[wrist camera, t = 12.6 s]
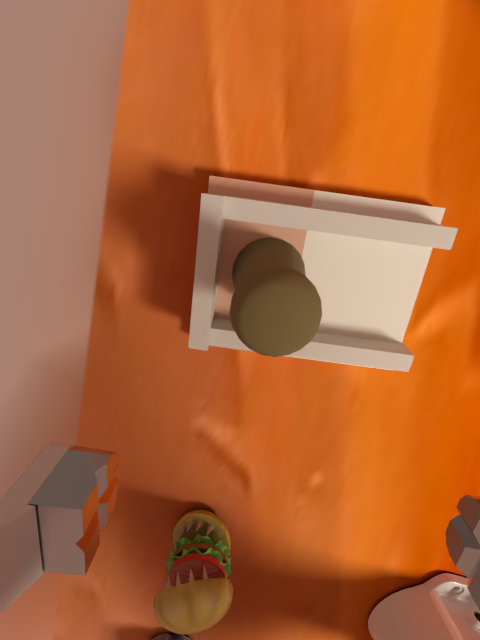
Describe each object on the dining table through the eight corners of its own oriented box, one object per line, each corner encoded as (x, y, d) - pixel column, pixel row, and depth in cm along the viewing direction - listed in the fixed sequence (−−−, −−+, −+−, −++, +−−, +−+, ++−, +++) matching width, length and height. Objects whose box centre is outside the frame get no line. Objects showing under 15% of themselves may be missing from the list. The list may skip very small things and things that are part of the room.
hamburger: (216, 493, 39) (201, 615, 28) (248, 533, 41) (246, 663, 30) (160, 516, 40) (125, 642, 29) (194, 554, 42) (173, 685, 31)
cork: (222, 250, 28) (203, 285, 17) (295, 227, 27) (321, 249, 17) (244, 317, 30) (239, 385, 19) (313, 298, 29) (346, 357, 18)
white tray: (435, 207, 27) (473, 210, 23) (386, 362, 32) (409, 391, 28) (211, 176, 27) (203, 173, 22) (196, 337, 32) (187, 362, 27)
